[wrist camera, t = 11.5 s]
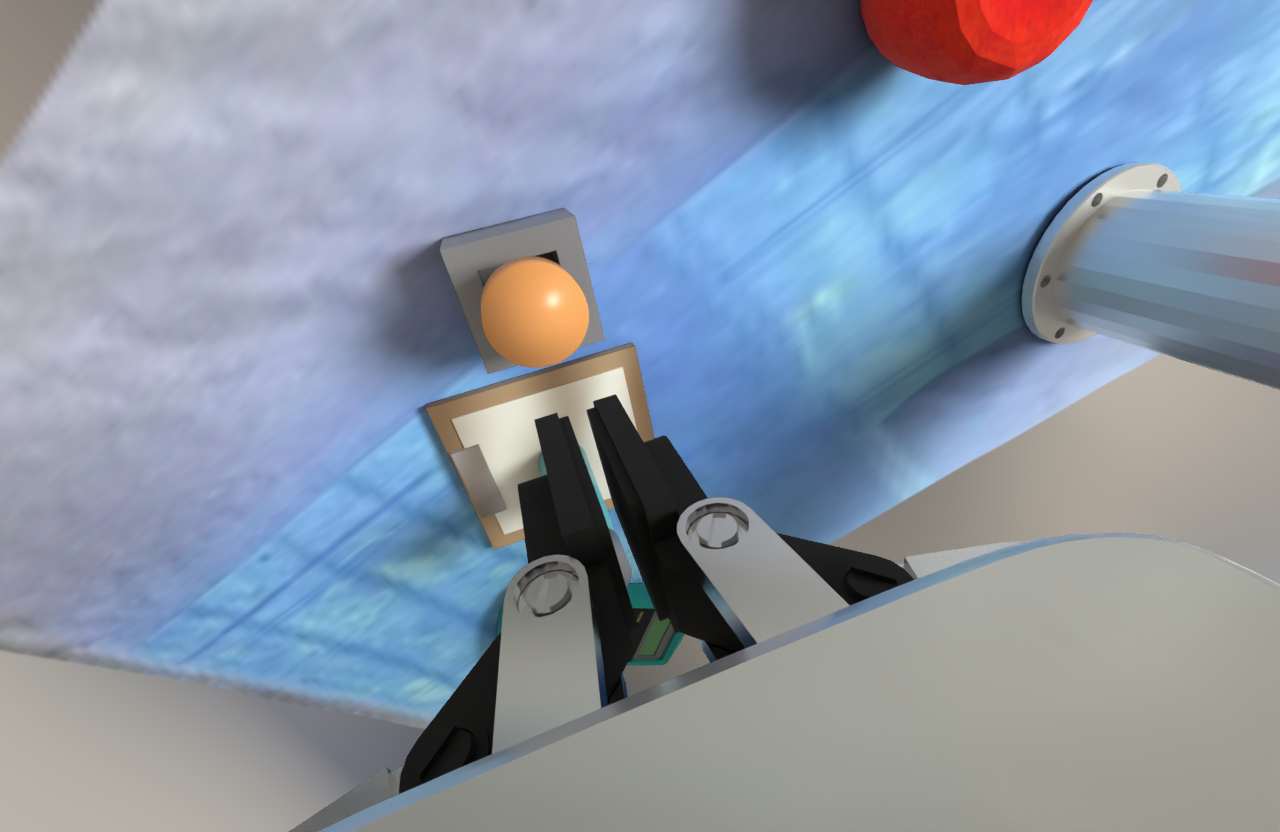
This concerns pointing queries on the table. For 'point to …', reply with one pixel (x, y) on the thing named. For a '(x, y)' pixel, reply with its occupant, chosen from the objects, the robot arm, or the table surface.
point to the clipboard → (531, 430)
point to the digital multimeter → (644, 630)
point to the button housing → (498, 244)
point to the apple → (969, 35)
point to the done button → (533, 312)
